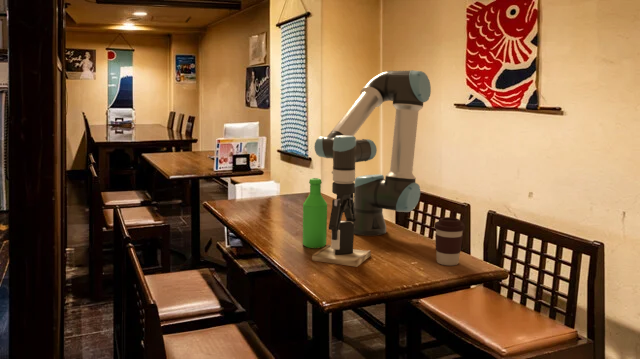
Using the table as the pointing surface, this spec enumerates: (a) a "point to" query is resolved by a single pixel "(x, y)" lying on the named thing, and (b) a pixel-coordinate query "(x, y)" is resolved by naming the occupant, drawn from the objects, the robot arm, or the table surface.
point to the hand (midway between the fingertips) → (342, 244)
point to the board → (341, 256)
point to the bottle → (315, 217)
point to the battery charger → (345, 238)
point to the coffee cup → (448, 240)
